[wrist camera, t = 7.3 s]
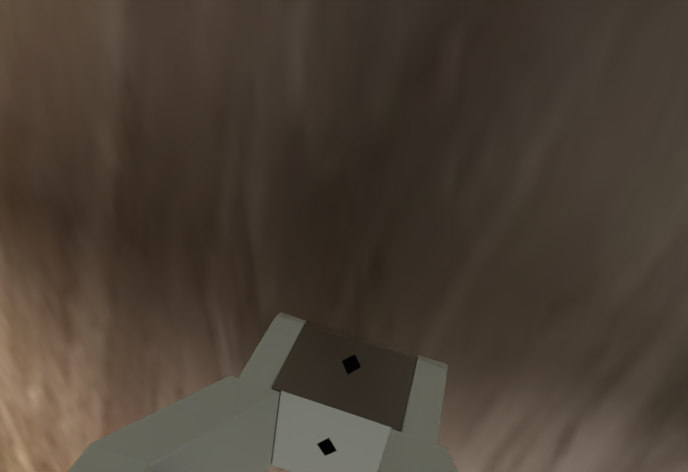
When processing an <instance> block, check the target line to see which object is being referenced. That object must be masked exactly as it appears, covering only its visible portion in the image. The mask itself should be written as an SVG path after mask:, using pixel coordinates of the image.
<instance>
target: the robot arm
mask: <svg viewBox="0 0 688 472" xmlns="http://www.w3.org/2000/svg"><path fill="white" fill-rule="evenodd" d="M447 371H448V367H447V364H446V363H443V362H439V361H436V360H433V359H429V358H426V357H422V356H419V355H418V356H417V355H415V354H412V353H408V352H405V351H402V350H398V349H395V348H392V347H388V346H385V345H382V344H378V343H375V342H372V341H368V340H365V339H361V338H358V337H355V336H352V335H349V334H346V333H343V332H340V331H337V330H334V329H331V328H328V327H325V326H322V325H319V324H316V323H313V322H310V321H305V320H302V319H299V318H296V317H293V316H291V315H288V314H285V313H282V312H280V313H279V314H278V315H277V316H276V317H275V318H274V319H273V321H272V323H271V324H270V326H269V328H268V329H267V331H266V333H265V334H264V336H263V338H262V339H261V341H260V343H259V344H258V346H257V347H256V349H255V351H254V352H253V354H252V356H251V357H250V359H249V361H248V362H247V364H246V366H245V367H244V369H243V371H242V372H241V374H240V376H239V377H238V378H237V377H234V376H231V375H229V376H227V377H225V378H223V379H221V380H219V381H217V382H215V383H213V384H211V385H209V386H207V387H205V388H203V389H201V390H199V391H197V392H195V393H193V394H191V395H189V396H187V397H185V398H183V399H181V400H179V401H176V402H174V403H172V404H170V405H168V406H166V407H164V408H162V409H160V410H158V411H156V412H154V413H152V414H150V415H148V416H146V417H144V418H142V419H140V420H138V421H136V422H134V423H132V424H130V425H128V426H126V427H124V428H122V429H120V430H118V431H116V432H113V433H111V434H109V435H107V436H105V437H103V438H101V439H99V440H97V441H95V442H93V443H91V444H90V445H89V446H88V447H87V448H86V450H85V451H84V452H83V453H82V455H81V456H80V457H79V458H78V459H77V461H76V462H75V463H74V464H73V466H72V467H71V468H70V469H69V470H68V472H266V471H267V470H268V469H270V465H273V466H276V467H279V468H282V469H285V470H288V471H291V472H458V470H457V468H456V466H455V464H454V462H453V460H452V458H451V456H450V454H449V452H448V450H447V448H446V447H443V446H440V445H438V444H437V442H438V435H439V428H440V421H441V414H442V406H443V399H444V392H445V385H446V378H447Z"/></svg>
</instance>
